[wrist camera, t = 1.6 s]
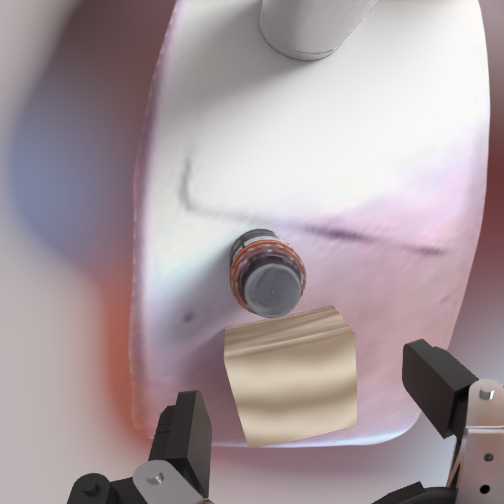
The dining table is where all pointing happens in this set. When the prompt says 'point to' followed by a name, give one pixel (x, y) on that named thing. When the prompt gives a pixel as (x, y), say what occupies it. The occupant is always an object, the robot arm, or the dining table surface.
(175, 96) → the dining table surface
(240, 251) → the supplement bottle
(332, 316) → the birch block
